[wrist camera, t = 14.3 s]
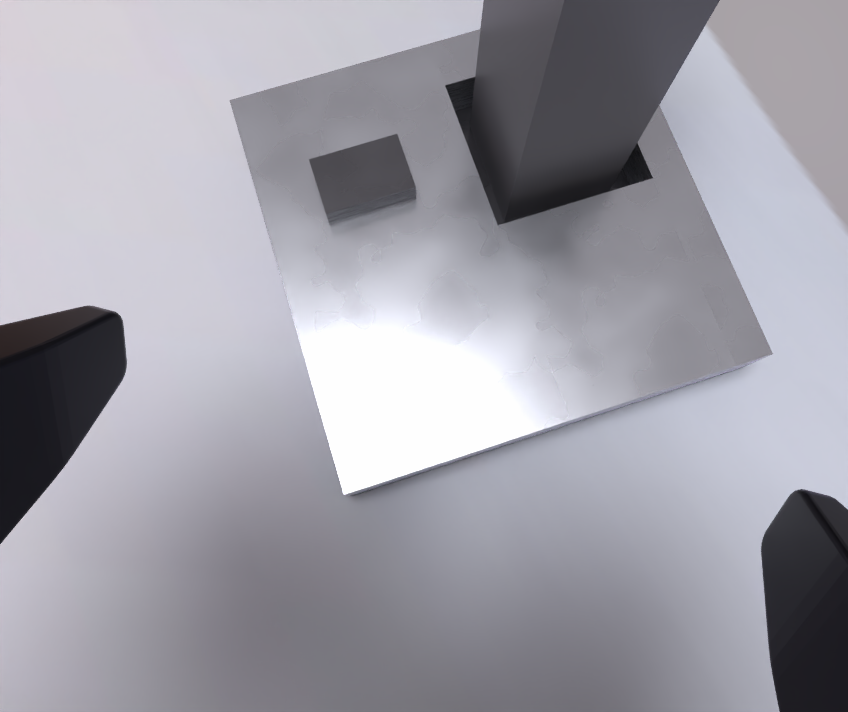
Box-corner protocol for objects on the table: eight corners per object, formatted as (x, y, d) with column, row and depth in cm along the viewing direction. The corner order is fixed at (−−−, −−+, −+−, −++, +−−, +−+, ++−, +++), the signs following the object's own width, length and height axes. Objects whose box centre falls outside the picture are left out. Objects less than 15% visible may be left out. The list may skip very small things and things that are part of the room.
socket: (351, 495, 22) (340, 494, 19) (245, 132, 25) (222, 85, 22) (742, 367, 22) (786, 347, 20) (594, 32, 25) (614, -25, 23)
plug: (502, 224, 23) (609, -173, 10) (466, 124, 24) (517, -369, 11) (612, 192, 24) (868, -239, 10) (572, 94, 25) (756, -424, 11)
